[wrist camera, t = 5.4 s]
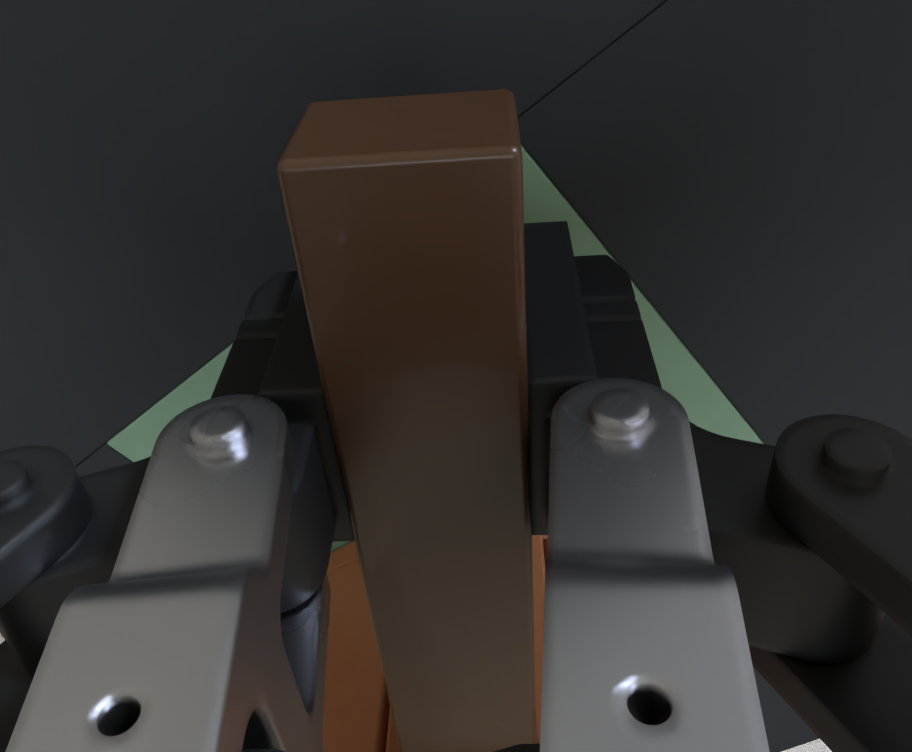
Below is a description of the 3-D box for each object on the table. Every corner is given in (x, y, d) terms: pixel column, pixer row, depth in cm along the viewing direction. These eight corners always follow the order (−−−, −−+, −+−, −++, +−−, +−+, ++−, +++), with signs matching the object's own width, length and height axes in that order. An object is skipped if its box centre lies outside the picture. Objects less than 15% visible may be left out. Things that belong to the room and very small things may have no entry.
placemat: (-521, 325, 15) (-542, 337, 15) (507, -1605, 5) (511, -1692, 5) (453, 850, 28) (453, 862, 27) (1274, 566, 18) (1288, 580, 18)
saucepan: (688, 778, 23) (751, 1069, 18) (308, 784, 24) (261, 1067, 19) (841, -34, 11) (1189, 142, 6) (40, 25, 11) (-331, 235, 6)
